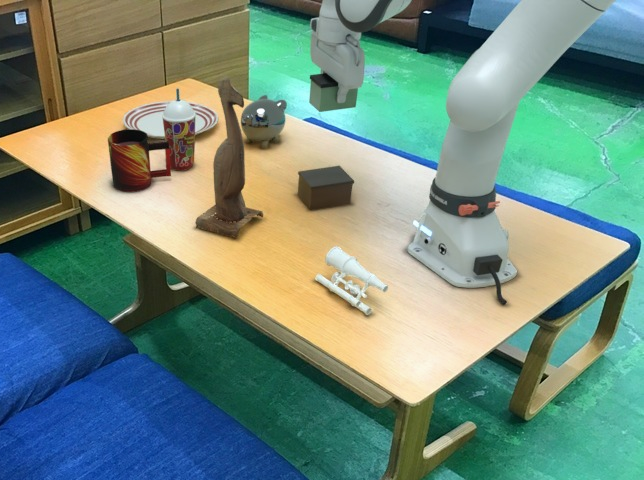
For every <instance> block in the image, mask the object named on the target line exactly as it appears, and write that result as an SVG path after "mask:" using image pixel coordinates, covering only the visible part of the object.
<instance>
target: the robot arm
mask: <svg viewBox="0 0 644 480" xmlns="http://www.w3.org/2000/svg"><path fill="white" fill-rule="evenodd" d="M616 1H617V0H520V1H519V2H518V3H517V4H516V6H515V7H513V9H512V10H511V11H510V12H509V13H508V15H507V16H506V17H505V18H504V19H503V21H501V23H500V24H499V25H498V26H497V28H495V30H494V31H493V32H492V33H491V35H490V36H489V37H488V38H487V39H486V41H485V42H483V44H482V45H481V46H480V47H479V48H478V49H476V50H475V51H474V52H473V53H472V54H471V56H470V57H469V58H468V59H467V61H465V63H464V64H463V66H462V67H461V68H460V69H459V71H458V72H457V73H456V74H455V76H454V77H453V78H452V80H451V82H450V84H449V86H448V89H447V94H446V99H445V110H446V114H447V117H448V118H449V123H448V126H447V129H446V131H445V135H444V138H443V141H442V145H441V150H440V154H439V159H438V164H437V169H436V174H435V176H434V177H433V179H432V182H431V184H430V188H429V195H428V199H429V201H428V203H427V205H426V207H425V209H424V211H423V212H422V214H421V215H420V218H419V222H418V221H417V220H413V225H414V227H416V232H415V234H414V238H413V241H412V242H411V243H410V244H409V245H408V246H407V249H406V252H407V253H408V254H409V255H411V256H412V257H414V258H415V259H416V260H417V261H419V262H420V263H421V264H423V265H425V266H426V267H427V268H429V269H430V270H431V271H433V272H434V273H435V274H436V275H438V276H439V277H441V278H442V279H444V280H445V281H446V282H448V283H449V284H450V285H452V286H454V287H458V288H467V289H468V288H470V289H473V288H486V287H492V286H495V288H496V297H497V300H498V301H499V303H501V304H502V305H507V304H508V303H507V300H506V299H504V297H503V295H502V284H504V283H507V282H509V281H511V280H513V279H514V278H515V277H516V276H517V274H518V270H517V268H516V267H515V266H514V264H513V263H512V261H511V260H510V259H509V250H510V245H509V241H508V240H509V238H510V234H509V231H508V230H507V229H503V227H502V225H501V222H500V220H499V218H498V215H497V214H496V213H497V212H496V208H497V207H500V205H499V204H500V203H501V201H500V200H498V201H497V192H496V190H497V187H496V181H497V177H498V174H499V171H500V167H501V163H502V159H503V155H504V152H505V148H506V145H507V142H508V139H509V136H510V134H511V130H512V127H513V123H514V120H515V117H516V114H517V111H518V109H519V105H520V101H521V100H522V99H523V98H524V97H525V96H526V95H527V94H528V93H529V91H531V89H532V88H534V86H535V85H536V84H537V83H538V82H539V81H540V80H541V79H542V77H544V75H546V73H547V72H548V71H549V70H550V69H551V67H553V65H554V64H556V62H557V61H558V60H559V59H560V58H561V57H562V56H563V54H565V52H566V51H567V50H568V49H569V48H570V47H571V46H572V45H573V44H574V43H575V42H576V41H577V40H578V39H579V38H580V37H581V36H582V35H583V34H584V33H585V32H586V31H588V30H589V28H590V27H591V26H592V25H593V24H595V22H596V21H598V19H599V18H600V17H602V15H603V14H604V13H605V12H606V11H607V10H608V9H610V7H611V6H612V5H613V4H614V3H615V2H616ZM412 2H413V0H322V2H321V6H320V9H319V14H318V15H319V16H318V17H314V18H311V19H310V23H309V28H310V30H311V34H310V50H309V51H310V60H311V62H312V63H313V64H314V65H315V66H317V68H319V69H320V74H323V73H327V74H328V75H329V76H331V77H332V78H333V79H334V80H336V81H337V82H338V87H339V90H338V93H336V98H335V100H336V101H337V102H338V103H344V102H345V101H346V94H347V92H348V91H349V89H355V88H358V89H360V88H362V86H363V85H364V81H365V79H364V78H365V70H366V69H365V65H366V55H365V51H364V49H363V47H361V42H360V40H361V38H362V34H363V33H367V32H368V31H370V30H372V29H373V28H375V27H376V26H378V25H379V24H381V23H382V22H385V21H386V20H389V19H391V18H392V17H394V16H396V15H398V14H400V13H402V12H403V11H404V10H405V9H407V8H408V7H409V6H410V5H411V3H412Z"/></svg>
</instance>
